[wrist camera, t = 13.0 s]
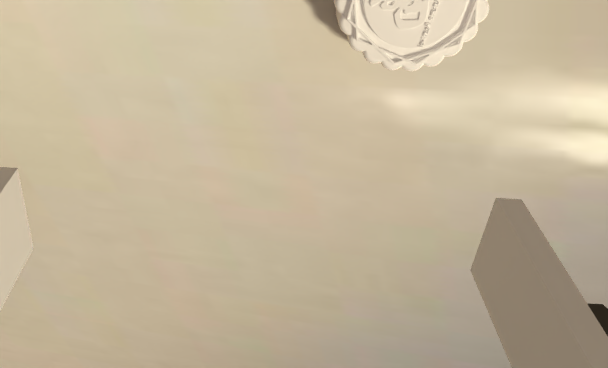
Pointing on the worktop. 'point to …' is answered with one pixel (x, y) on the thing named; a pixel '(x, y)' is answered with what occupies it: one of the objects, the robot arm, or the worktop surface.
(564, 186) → the worktop surface
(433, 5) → the mooncake
